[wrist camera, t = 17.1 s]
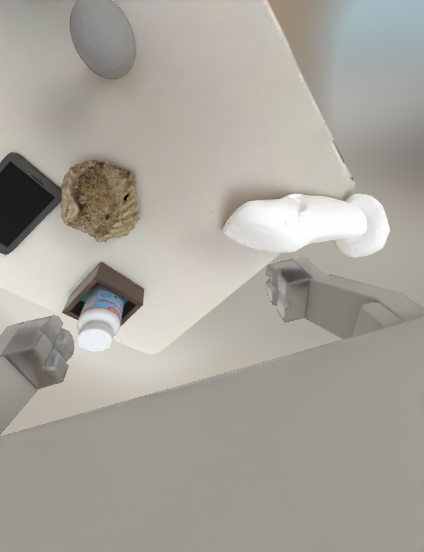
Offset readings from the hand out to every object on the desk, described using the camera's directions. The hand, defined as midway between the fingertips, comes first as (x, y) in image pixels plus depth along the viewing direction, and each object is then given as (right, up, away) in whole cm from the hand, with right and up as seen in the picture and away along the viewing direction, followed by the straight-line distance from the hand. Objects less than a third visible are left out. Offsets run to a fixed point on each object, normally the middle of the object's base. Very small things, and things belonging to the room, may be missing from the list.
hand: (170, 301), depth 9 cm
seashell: (-14, +13, +26) cm, 32 cm away
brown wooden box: (-18, -2, +34) cm, 39 cm away
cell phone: (-27, +11, +24) cm, 37 cm away
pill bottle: (-17, -2, +34) cm, 38 cm away
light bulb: (-10, +27, +18) cm, 34 cm away
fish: (+16, +3, +29) cm, 33 cm away
